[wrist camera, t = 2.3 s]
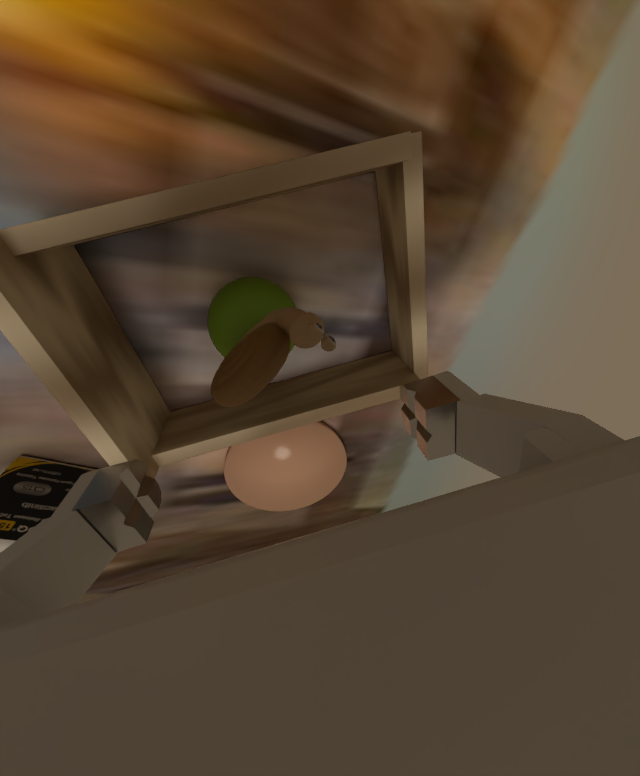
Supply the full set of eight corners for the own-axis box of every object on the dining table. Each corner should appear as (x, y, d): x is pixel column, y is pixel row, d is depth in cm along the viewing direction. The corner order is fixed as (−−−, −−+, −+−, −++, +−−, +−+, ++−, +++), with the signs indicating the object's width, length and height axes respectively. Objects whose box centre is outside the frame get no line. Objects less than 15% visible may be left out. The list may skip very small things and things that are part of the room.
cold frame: (43, 230, 17) (-72, 240, 11) (390, 146, 18) (457, 113, 12) (163, 425, 24) (133, 495, 18) (404, 358, 25) (451, 404, 19)
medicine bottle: (124, 472, 26) (38, 645, 16) (108, 527, 28) (25, 705, 18) (19, 452, 23) (-168, 643, 13) (13, 514, 26) (-147, 713, 16)
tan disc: (205, 435, 25) (203, 441, 25) (333, 399, 26) (335, 404, 25) (248, 516, 31) (248, 523, 30) (352, 486, 32) (354, 492, 31)
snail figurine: (320, 301, 22) (377, 382, 11) (258, 362, 23) (259, 483, 13) (261, 239, 19) (268, 271, 9) (196, 312, 20) (136, 413, 10)
